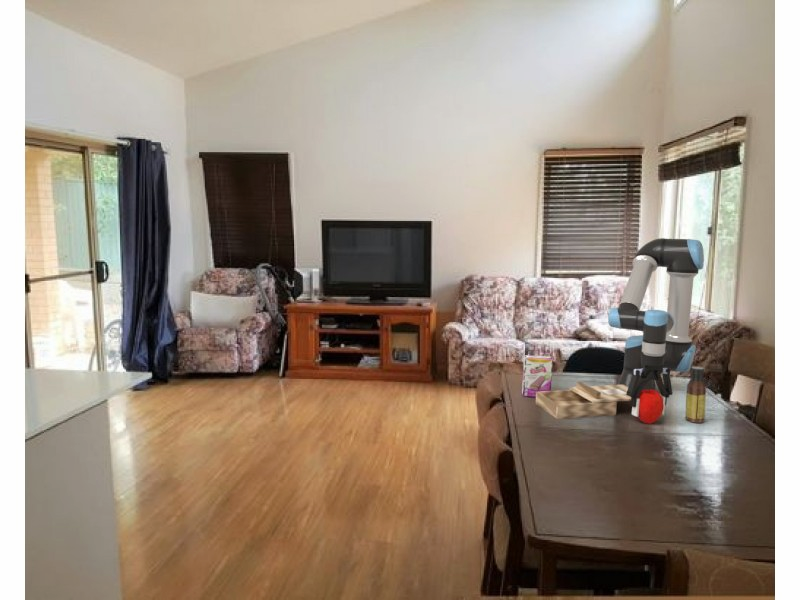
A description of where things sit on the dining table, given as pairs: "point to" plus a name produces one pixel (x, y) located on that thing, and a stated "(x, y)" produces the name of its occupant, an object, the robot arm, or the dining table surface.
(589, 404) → the wooden box
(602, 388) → the lid
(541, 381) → the candy bar box
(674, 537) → the dining table surface
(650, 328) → the robot arm
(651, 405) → the apple
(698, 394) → the sauce bottle
